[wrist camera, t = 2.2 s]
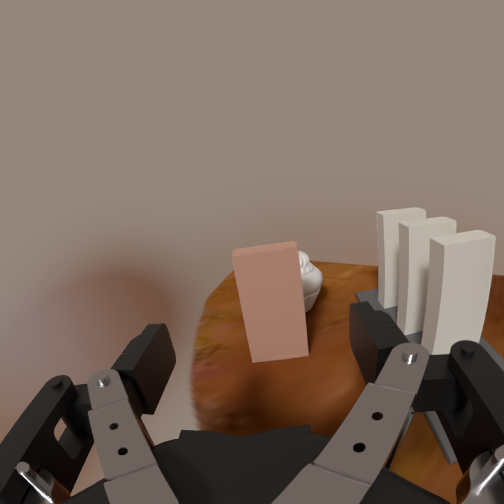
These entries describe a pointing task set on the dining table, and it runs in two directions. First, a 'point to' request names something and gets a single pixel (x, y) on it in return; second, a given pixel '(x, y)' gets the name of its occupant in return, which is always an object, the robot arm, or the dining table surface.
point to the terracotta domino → (272, 300)
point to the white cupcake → (309, 281)
